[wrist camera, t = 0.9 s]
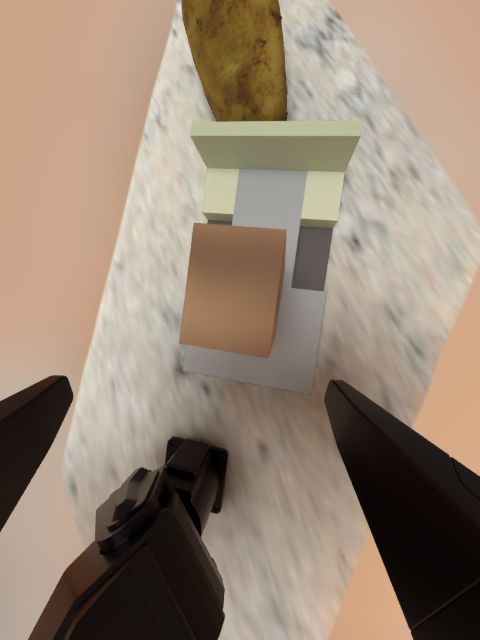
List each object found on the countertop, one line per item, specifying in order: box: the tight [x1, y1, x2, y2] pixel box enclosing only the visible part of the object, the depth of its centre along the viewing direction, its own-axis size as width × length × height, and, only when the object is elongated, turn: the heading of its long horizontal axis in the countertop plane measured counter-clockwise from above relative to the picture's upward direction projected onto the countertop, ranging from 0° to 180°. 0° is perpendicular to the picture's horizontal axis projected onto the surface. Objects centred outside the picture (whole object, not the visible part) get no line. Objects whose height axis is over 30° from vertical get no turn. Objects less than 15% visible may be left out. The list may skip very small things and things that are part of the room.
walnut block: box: [179, 223, 287, 358], centre depth 16 cm, size 6×4×10 cm
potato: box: [182, 0, 288, 122], centre depth 19 cm, size 8×13×8 cm, turn 0°
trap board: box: [183, 120, 363, 395], centre depth 20 cm, size 20×12×6 cm, turn 172°
